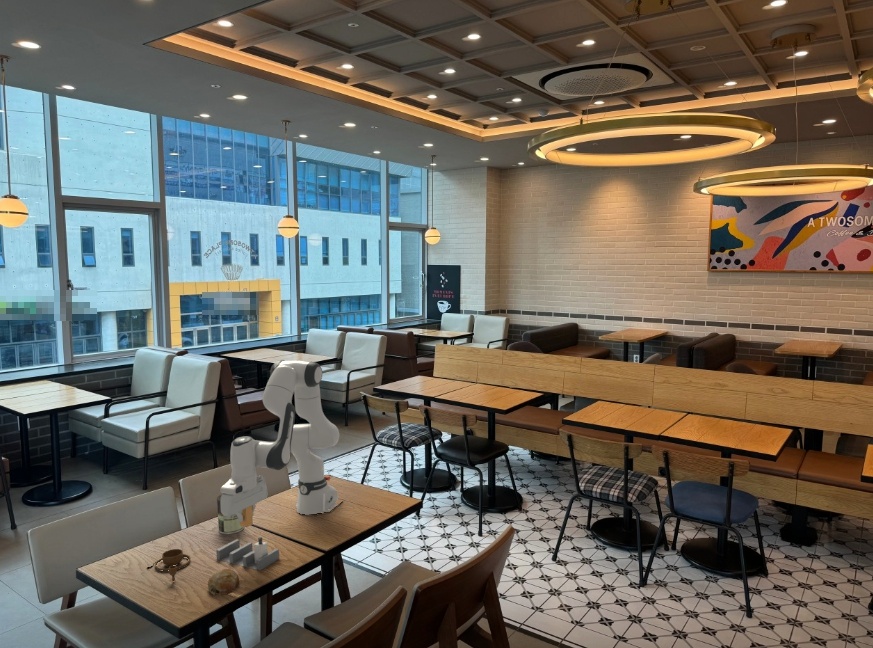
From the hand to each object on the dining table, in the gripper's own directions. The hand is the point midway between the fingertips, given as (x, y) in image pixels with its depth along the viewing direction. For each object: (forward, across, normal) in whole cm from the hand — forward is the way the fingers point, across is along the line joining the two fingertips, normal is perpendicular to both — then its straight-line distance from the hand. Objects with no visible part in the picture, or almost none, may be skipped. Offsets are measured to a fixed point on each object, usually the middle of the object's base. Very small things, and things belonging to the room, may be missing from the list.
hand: (246, 518), depth 223 cm
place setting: (+17, +17, -22) cm, 33 cm away
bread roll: (+17, +18, +6) cm, 25 cm away
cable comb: (+16, 0, 0) cm, 16 cm away
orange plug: (+2, 0, 0) cm, 2 cm away
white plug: (+15, 0, +6) cm, 16 cm away
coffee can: (+16, -19, -28) cm, 37 cm away
